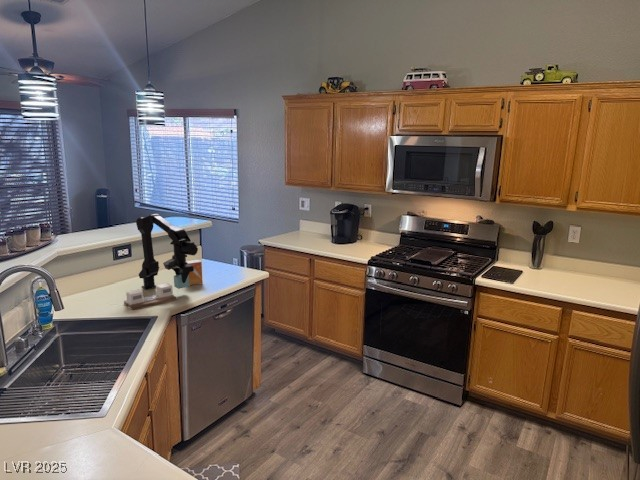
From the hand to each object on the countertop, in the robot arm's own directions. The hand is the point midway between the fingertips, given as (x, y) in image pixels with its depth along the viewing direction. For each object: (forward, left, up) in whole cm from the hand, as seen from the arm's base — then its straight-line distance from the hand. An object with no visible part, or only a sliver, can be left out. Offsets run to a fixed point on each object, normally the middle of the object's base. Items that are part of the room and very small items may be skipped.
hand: (181, 281), depth 234 cm
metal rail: (0, -17, -6) cm, 18 cm away
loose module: (0, 0, -3) cm, 3 cm away
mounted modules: (0, -17, -5) cm, 18 cm away
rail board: (0, -17, -7) cm, 18 cm away
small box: (-14, +14, -7) cm, 21 cm away
